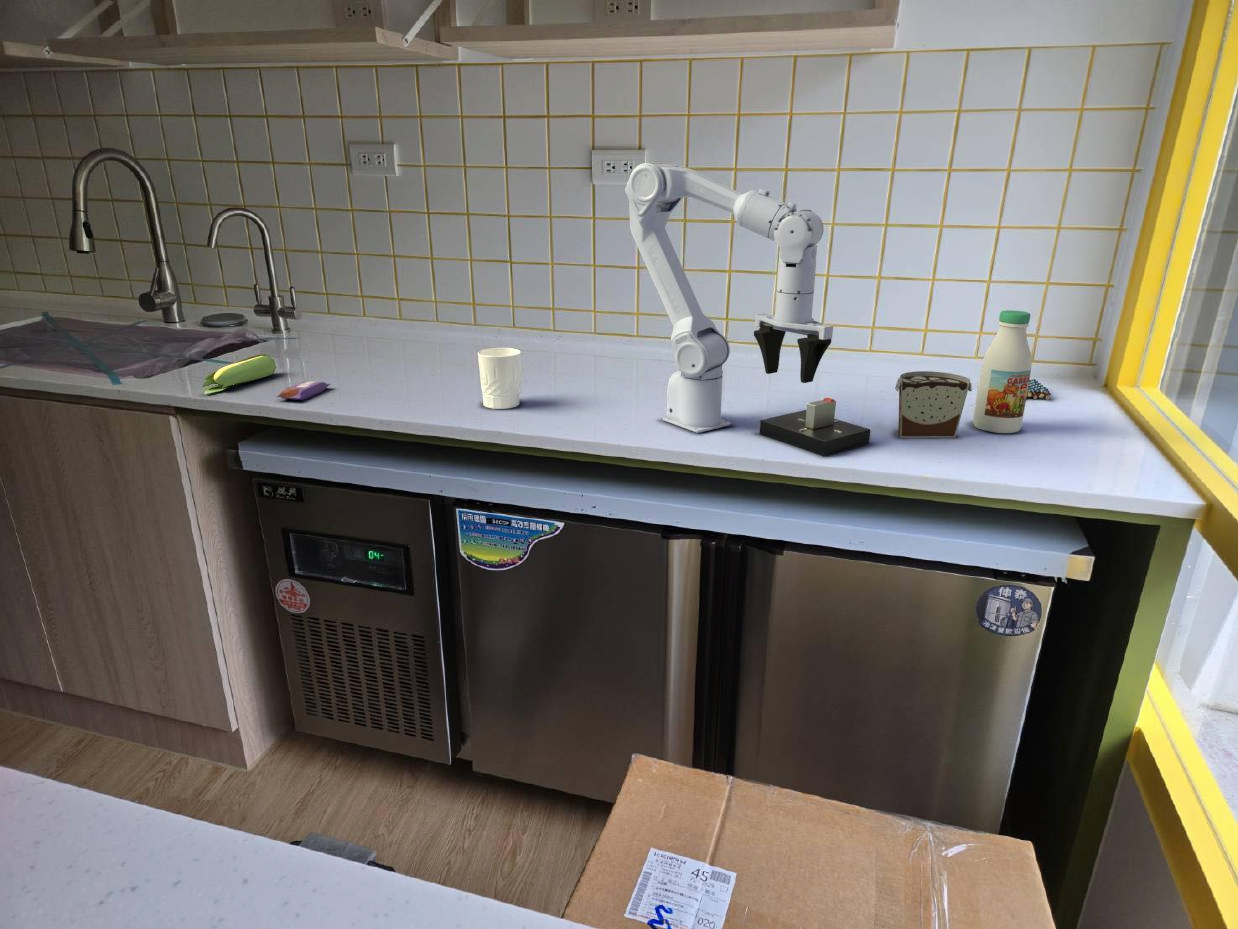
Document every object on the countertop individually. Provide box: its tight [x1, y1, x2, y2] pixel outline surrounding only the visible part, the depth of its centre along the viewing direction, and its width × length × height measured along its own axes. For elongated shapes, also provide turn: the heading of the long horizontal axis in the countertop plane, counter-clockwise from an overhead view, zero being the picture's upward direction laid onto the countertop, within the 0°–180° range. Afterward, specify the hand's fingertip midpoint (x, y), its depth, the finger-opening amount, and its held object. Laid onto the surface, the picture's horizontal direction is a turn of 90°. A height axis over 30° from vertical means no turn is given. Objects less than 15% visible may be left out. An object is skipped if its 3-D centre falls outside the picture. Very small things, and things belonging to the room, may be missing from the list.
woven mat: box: [1026, 378, 1052, 400], centre depth 164 cm, size 10×11×2 cm
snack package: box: [275, 380, 332, 401], centre depth 159 cm, size 12×2×5 cm
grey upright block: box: [805, 397, 837, 429], centre depth 133 cm, size 5×2×4 cm, turn 126°
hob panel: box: [759, 409, 872, 457], centre depth 135 cm, size 14×11×3 cm
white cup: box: [477, 347, 522, 410], centre depth 152 cm, size 8×8×10 cm
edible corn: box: [201, 353, 277, 395], centre depth 166 cm, size 5×20×5 cm, turn 163°
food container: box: [894, 370, 973, 439], centre depth 138 cm, size 12×6×10 cm, turn 92°
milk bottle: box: [972, 309, 1033, 434], centre depth 139 cm, size 8×8×20 cm
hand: (788, 377), depth 132 cm, fingers open, 7 cm apart
